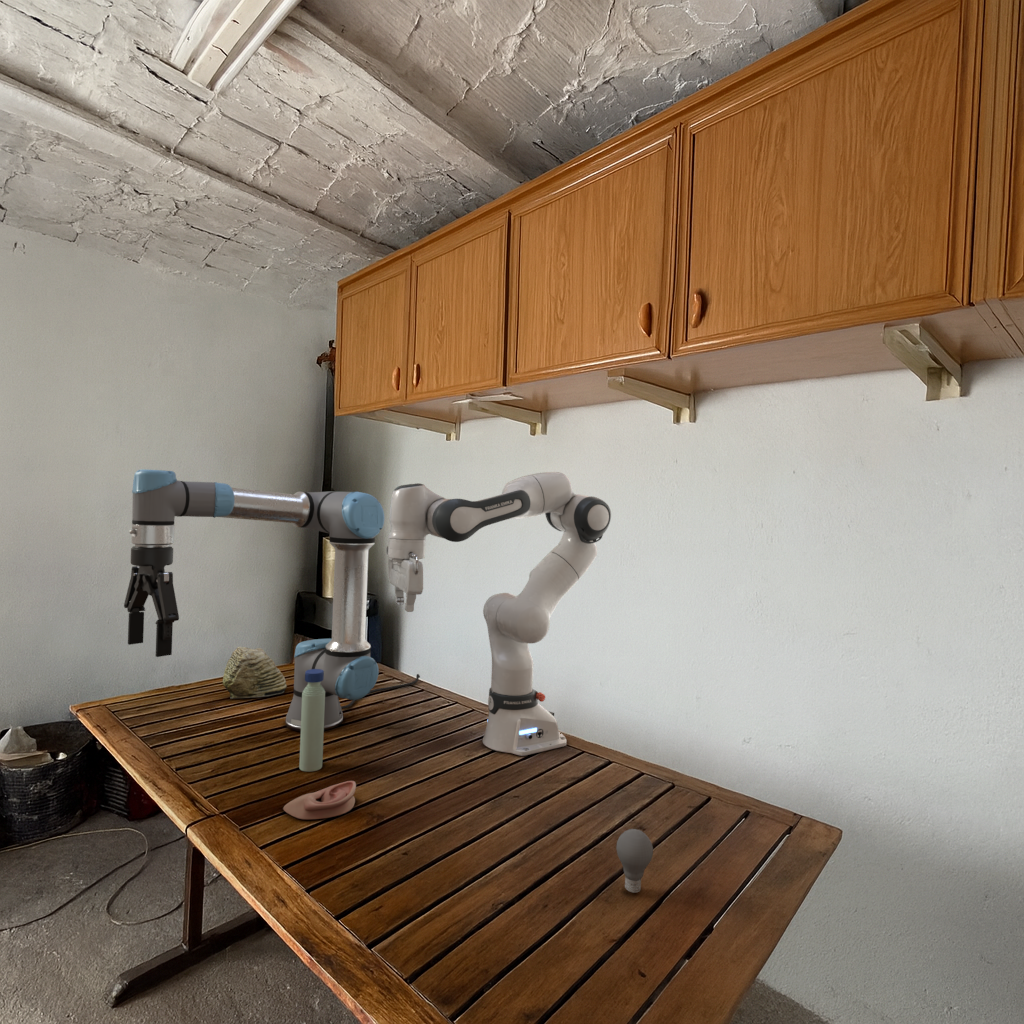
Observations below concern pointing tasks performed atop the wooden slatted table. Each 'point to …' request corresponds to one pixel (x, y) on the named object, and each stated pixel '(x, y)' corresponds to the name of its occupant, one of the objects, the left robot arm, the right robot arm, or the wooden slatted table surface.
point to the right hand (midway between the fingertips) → (404, 607)
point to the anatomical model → (323, 802)
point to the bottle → (312, 727)
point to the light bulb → (634, 857)
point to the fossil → (252, 674)
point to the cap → (314, 675)
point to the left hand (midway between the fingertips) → (149, 649)
